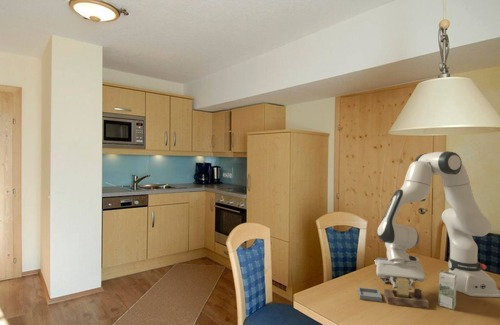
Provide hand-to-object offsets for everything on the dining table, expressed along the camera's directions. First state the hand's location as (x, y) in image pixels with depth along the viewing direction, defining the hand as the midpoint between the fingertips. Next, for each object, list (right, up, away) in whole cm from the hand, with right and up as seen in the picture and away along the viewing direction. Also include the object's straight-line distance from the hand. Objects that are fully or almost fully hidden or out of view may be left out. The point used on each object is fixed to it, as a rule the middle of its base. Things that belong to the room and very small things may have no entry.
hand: (402, 288), depth 130 cm
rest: (-13, -6, +5) cm, 15 cm away
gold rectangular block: (0, -6, +1) cm, 6 cm away
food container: (+4, -6, +23) cm, 24 cm away
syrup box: (+18, -7, -3) cm, 20 cm away
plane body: (+1, -6, 0) cm, 6 cm away
